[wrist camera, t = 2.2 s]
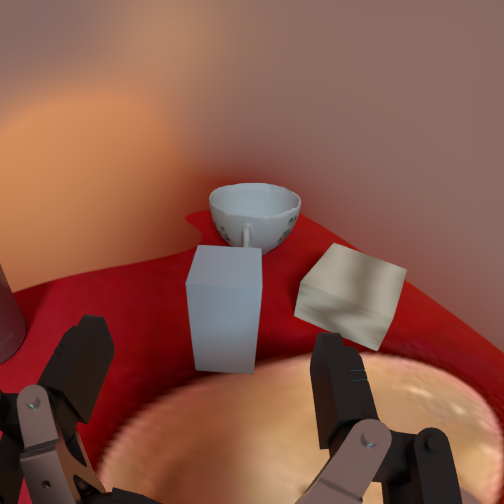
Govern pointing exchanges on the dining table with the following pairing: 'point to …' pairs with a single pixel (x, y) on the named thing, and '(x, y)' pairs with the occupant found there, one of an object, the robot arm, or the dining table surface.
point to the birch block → (351, 295)
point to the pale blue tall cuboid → (225, 307)
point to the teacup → (254, 214)
